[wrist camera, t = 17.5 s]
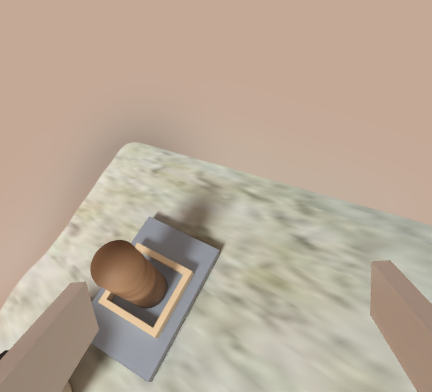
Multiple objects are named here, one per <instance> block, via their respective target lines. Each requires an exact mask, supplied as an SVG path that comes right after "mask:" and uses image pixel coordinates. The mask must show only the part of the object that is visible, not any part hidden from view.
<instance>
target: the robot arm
mask: <svg viewBox="0 0 432 392" xmlns="http://www.w3.org/2000/svg"><path fill="white" fill-rule="evenodd" d="M370 315H371V317H372V319H373V320H374V322H375V323H376V325H377V327H378V328H379V330H380V332H381V333H382V335H383V336H384V338H385V340H386V341H387V343H388V345H389V346H390V348H391V349H392V351H393V353H394V354H395V356H396V358H397V359H398V361H399V362H400V364H401V366H402V367H403V369H404V371H405V372H406V374H407V375H408V377H409V379H410V380H411V382H412V384H413V385H414V387H415V388H416V390H417V392H432V304H431V303H430V302H429V301H428V300H427V299H426V298H425V297H424V296H423V295H422V293H421V292H420V291H419V290H418V289H417V288H416V287H415V286H414V285H413V284H412V283H411V282H410V281H409V280H408V279H407V278H406V277H405V276H404V275H403V273H402V272H401V271H400V270H399V269H398V268H397V267H396V266H395V265H394V264H393V263H392V262H391V261H390V260H388V261H374V262H372V269H371V307H370ZM98 331H99V327H98V324H97V320H96V316H95V313H94V309H93V305H92V302H91V298H90V295H89V291H88V287H87V284H86V282H77V283H70V284H69V286H68V287H67V288H66V289H65V290H64V291H63V292H62V293H61V294H60V295H59V296H58V298H57V299H56V300H55V301H54V302H53V303H52V304H51V305H50V306H49V307H48V308H47V310H46V311H45V312H44V313H43V314H42V315H41V316H40V317H39V318H38V319H37V320H36V322H35V323H34V324H33V325H32V326H31V327H30V328H29V329H28V330H27V331H26V332H25V334H24V335H23V336H22V337H21V338H20V339H19V340H18V341H17V342H16V343H15V344H14V346H13V347H12V348H11V349H10V350H6V351H4V352H3V353H1V354H0V392H62V390H63V388H64V387H65V385H66V383H67V382H68V380H69V378H70V377H71V375H72V373H73V372H74V370H75V369H76V367H77V365H78V364H79V362H80V360H81V359H82V357H83V355H84V354H85V352H86V350H87V349H88V347H89V345H90V344H91V342H92V341H93V339H94V337H95V336H96V334H97V332H98Z"/></svg>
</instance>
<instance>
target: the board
mask: <svg viewBox="0 0 432 392" xmlns="http://www.w3.org/2000/svg"><path fill="white" fill-rule="evenodd" d="M131 244H132V245H133V246H134V247H135V248H136V249H137V250H138V251H139V252H140V253H141V254H142V255H143V256H144V257H145V258H146V259H147V260H148V261H149V262H150V263H151V264H152V265H153V266H154V267H155V268H156V269H157V270H158V271H159V272H160V273H161V274H162V275H163V276H164V277H165V279H166V282H167V293H166V296H165V298H164V299H163V301H162V302H161V303H160V304H158V305H157V306H155V307H153V308H148V309H145V308H141V307H139V306H137V305H135V304H133V303H131V302H129V301H127V300H125V299H123V298H121V297H120V296H118V295H116V294H114V293H112V292H110V291H108V290H106V289H104V288H101V289H100V291H99V292H98V294H97V295H96V297H95V298H94V300H93V301H92V305H93V309H94V313H95V316H96V320H97V324H98V327H99V331H98V332H97V334H96V336H95V337H94V339H93V341H92V342H91V344H93V345H94V346H96V347H97V348H98V349H100V350H101V351H103V352H104V353H106V354H107V355H109V356H110V357H112V358H113V359H115V360H116V361H118V362H119V363H120V364H122V365H123V366H125V367H126V368H128V369H129V370H131V371H132V372H134V373H135V374H137V375H138V376H140V377H141V378H142V379H144V380H145V381H147V382H152V380H153V378H154V376H155V374H156V372H157V370H158V369H159V367H160V365H161V363H162V361H163V359H164V357H165V356H166V354H167V352H168V350H169V348H170V346H171V344H172V342H173V341H174V339H175V337H176V335H177V333H178V331H179V329H180V327H181V326H182V324H183V322H184V320H185V318H186V316H187V314H188V312H189V311H190V309H191V307H192V305H193V303H194V301H195V299H196V298H197V296H198V294H199V292H200V290H201V288H202V286H203V284H204V283H205V281H206V279H207V277H208V275H209V273H210V271H211V269H212V268H213V266H214V264H215V262H216V260H217V258H218V256H219V254H220V251H219V250H218V249H216V248H214V247H212V246H210V245H208V244H206V243H204V242H201V241H199V240H197V239H195V238H193V237H191V236H189V235H187V234H185V233H183V232H181V231H179V230H177V229H175V228H172V227H170V226H168V225H166V224H164V223H162V222H160V221H158V220H156V219H154V218H152V217H150V216H149V218H148V219H147V221H146V222H145V223H144V225H143V226H142V228H141V229H140V231H139V232H138V234H137V235H136V237H135V238H134V240H133V241H132V243H131Z"/></svg>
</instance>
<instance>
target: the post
mask: <svg viewBox="0 0 432 392" xmlns="http://www.w3.org/2000/svg"><path fill="white" fill-rule="evenodd" d="M91 275H92V278H93V280H94V281H95V283H96V284H97V285H99V286H100V287H102V288H104V289H106V290H108V291H110V292H112V293H114V294H116V295H118V296H120V297H121V298H123V299H125V300H127V301H129V302H131V303H133V304H135V305H137V306H139V307H141V308H145V309H148V308H153V307H155V306H157V305H158V304H160V303H161V302H162V301H163V299H164V298H165V296H166V293H167V282H166V279H165V277H164V276H163V275H162V274H161V273H160V272H159V271H158V270H157V269H156V268H155V267H154V266H153V265H152V264H151V263H150V262H149V261H148V260H147V259H146V258H145V257H144V256H143V255H142V254H141V253H140V252H139V251H138V250H137V249H136V248H135V247H134V246H133V245H132V244H131V243H129V242H127V241H123V240H116V241H111V242H109V243H107V244H105V245H104V246H102V247H101V248H100V249H99V250H98V251H97V252H96V254H95V255H94V257H93V259H92V262H91Z"/></svg>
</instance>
